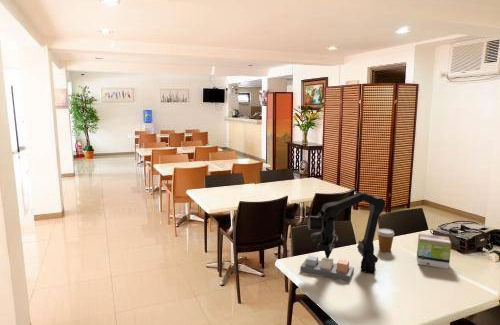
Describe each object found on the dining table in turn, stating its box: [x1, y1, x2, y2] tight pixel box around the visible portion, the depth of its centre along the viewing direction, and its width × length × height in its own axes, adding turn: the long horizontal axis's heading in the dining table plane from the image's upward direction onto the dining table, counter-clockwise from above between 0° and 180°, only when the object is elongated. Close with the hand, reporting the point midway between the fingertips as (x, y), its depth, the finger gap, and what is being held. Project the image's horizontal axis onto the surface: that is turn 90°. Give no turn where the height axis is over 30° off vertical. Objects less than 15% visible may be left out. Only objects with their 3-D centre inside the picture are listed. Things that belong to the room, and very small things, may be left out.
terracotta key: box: [336, 258, 350, 273], centre depth 176 cm, size 5×5×5 cm
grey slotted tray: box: [299, 259, 355, 283], centre depth 180 cm, size 25×11×3 cm, turn 64°
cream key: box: [320, 255, 334, 270], centre depth 180 cm, size 5×5×5 cm
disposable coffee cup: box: [376, 228, 395, 253], centre depth 208 cm, size 10×10×12 cm
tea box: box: [416, 233, 452, 270], centre depth 189 cm, size 15×10×15 cm
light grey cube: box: [305, 255, 319, 267], centre depth 184 cm, size 5×5×5 cm
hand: (327, 257), depth 179 cm, fingers closed
